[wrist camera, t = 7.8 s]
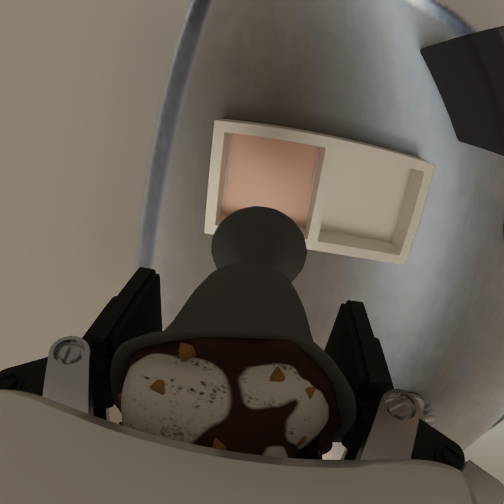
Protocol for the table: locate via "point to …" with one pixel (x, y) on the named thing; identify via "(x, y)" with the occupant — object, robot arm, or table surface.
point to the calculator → (472, 85)
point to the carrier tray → (320, 187)
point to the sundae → (239, 355)
